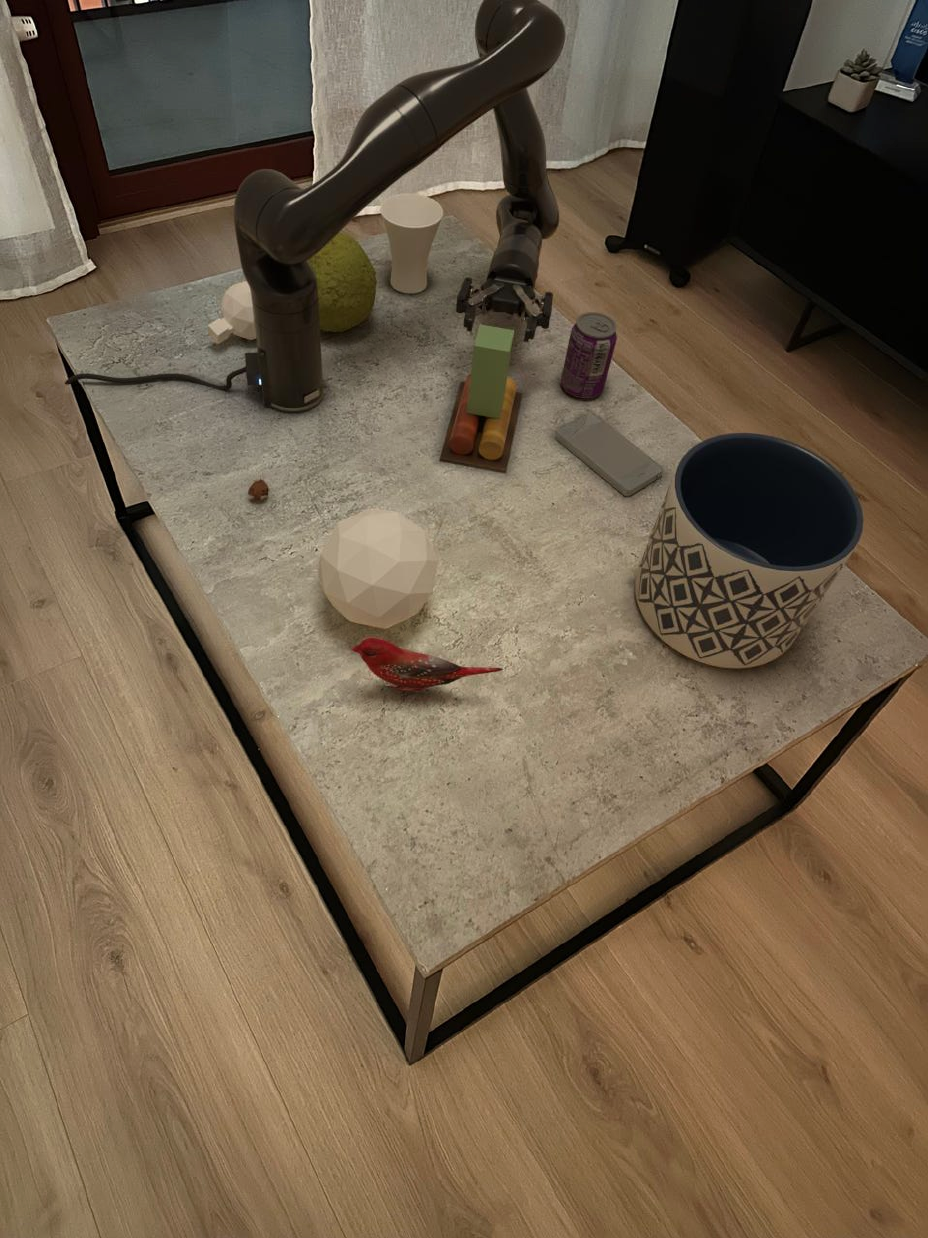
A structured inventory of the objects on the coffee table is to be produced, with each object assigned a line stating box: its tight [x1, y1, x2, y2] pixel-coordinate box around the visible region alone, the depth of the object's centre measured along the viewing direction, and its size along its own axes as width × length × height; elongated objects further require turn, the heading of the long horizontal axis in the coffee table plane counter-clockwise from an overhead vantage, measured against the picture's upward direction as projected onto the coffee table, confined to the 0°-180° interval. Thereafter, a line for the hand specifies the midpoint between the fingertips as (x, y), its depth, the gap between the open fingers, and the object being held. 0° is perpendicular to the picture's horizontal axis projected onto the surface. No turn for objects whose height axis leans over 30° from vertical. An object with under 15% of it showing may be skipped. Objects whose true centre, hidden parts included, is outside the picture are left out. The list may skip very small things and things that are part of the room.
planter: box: [634, 432, 865, 669], centre depth 113 cm, size 22×22×20 cm
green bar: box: [467, 323, 515, 419], centre depth 130 cm, size 5×5×12 cm
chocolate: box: [247, 473, 272, 501], centre depth 124 cm, size 3×2×4 cm
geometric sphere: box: [317, 507, 439, 630], centre depth 111 cm, size 14×15×15 cm
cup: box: [379, 193, 444, 294], centre depth 153 cm, size 10×10×14 cm
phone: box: [554, 411, 664, 497], centre depth 136 cm, size 8×16×1 cm, turn 40°
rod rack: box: [439, 373, 523, 474], centre depth 136 cm, size 18×10×4 cm, turn 170°
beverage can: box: [560, 311, 618, 399], centre depth 141 cm, size 7×7×12 cm
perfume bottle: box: [207, 280, 256, 345], centre depth 143 cm, size 9×9×12 cm
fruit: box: [307, 232, 378, 333], centre depth 146 cm, size 16×14×15 cm
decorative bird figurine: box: [350, 637, 504, 692], centre depth 105 cm, size 3×18×10 cm, turn 88°
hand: (498, 331), depth 132 cm, fingers open, 8 cm apart
